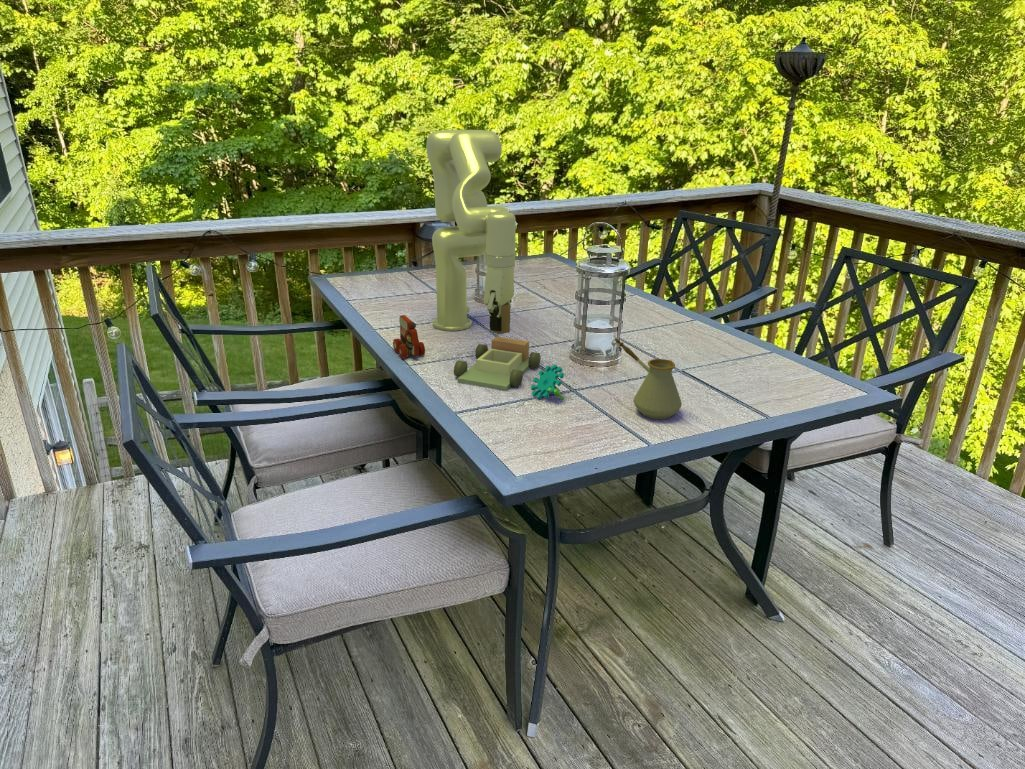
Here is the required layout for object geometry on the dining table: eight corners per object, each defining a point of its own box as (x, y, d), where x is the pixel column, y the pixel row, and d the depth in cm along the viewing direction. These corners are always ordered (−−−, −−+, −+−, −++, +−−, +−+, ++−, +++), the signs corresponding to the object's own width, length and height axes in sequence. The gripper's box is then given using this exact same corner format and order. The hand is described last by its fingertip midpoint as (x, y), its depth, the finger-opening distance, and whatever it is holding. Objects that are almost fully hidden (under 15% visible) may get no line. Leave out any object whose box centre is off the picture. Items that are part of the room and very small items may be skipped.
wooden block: (502, 328, 200) (502, 300, 197) (510, 332, 197) (510, 304, 193) (489, 331, 198) (489, 302, 195) (497, 335, 195) (497, 306, 191)
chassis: (484, 354, 213) (484, 334, 211) (542, 363, 207) (543, 342, 205) (450, 381, 194) (450, 359, 192) (514, 392, 188) (514, 369, 186)
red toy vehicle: (404, 362, 206) (403, 327, 202) (391, 348, 216) (389, 315, 212) (428, 359, 209) (427, 324, 205) (413, 345, 219) (412, 312, 215)
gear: (524, 382, 190) (552, 356, 188) (538, 394, 193) (565, 368, 192) (538, 405, 181) (567, 377, 180) (552, 417, 184) (581, 390, 183)
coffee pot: (690, 414, 178) (697, 356, 172) (659, 427, 171) (665, 367, 165) (625, 386, 193) (629, 332, 187) (594, 397, 186) (597, 341, 180)
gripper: (499, 252, 198) (499, 316, 205) (473, 266, 183) (474, 335, 191) (525, 255, 196) (524, 320, 203) (501, 269, 181) (500, 339, 188)
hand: (500, 326), depth 197 cm, fingers closed on wooden block, 5 cm apart
